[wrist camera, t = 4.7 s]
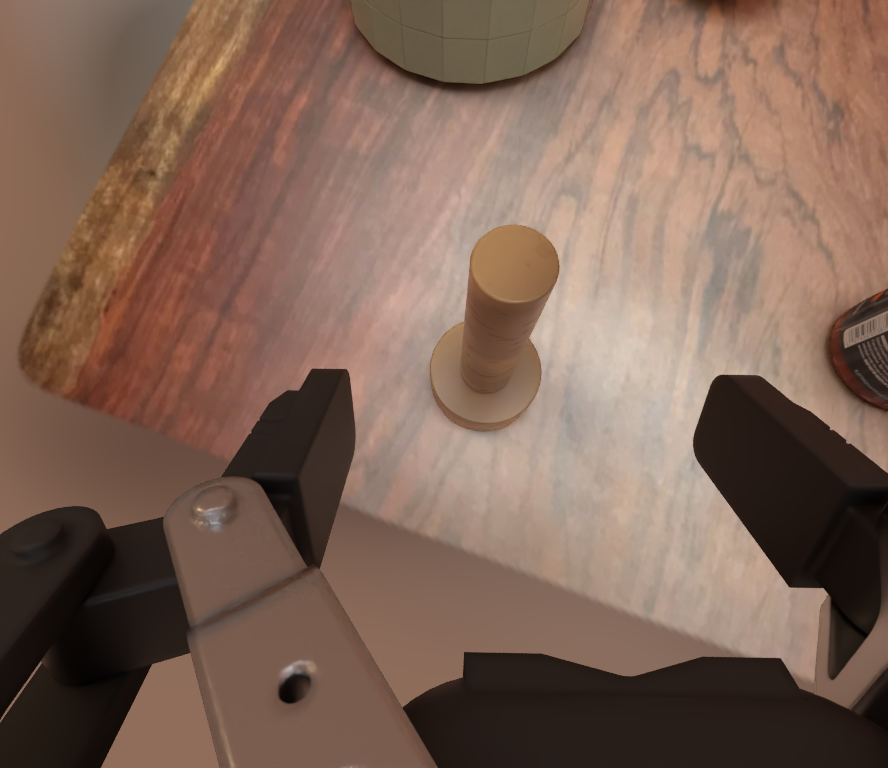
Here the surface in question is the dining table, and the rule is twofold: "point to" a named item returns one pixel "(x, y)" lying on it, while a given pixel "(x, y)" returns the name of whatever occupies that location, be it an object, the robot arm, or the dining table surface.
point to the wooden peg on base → (496, 331)
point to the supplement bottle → (863, 349)
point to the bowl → (470, 35)
